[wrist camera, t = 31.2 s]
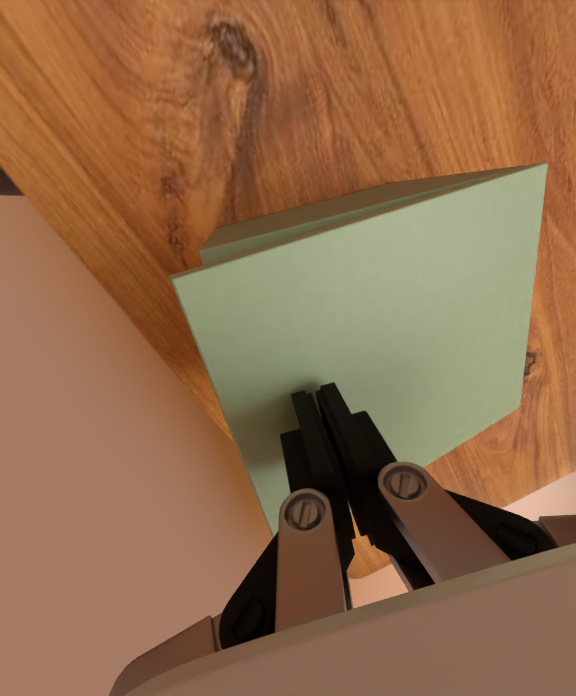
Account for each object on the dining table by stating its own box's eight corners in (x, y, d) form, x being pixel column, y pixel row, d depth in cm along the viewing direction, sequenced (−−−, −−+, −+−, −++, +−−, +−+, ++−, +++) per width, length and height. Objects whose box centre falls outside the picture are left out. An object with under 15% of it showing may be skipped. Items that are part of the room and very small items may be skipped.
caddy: (258, 366, 30) (272, 467, 19) (215, 228, 25) (197, 250, 13) (405, 325, 31) (506, 399, 19) (394, 181, 25) (528, 164, 14)
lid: (274, 541, 15) (281, 557, 14) (168, 275, 9) (171, 279, 8) (505, 400, 19) (520, 407, 18) (527, 165, 14) (548, 161, 13)
